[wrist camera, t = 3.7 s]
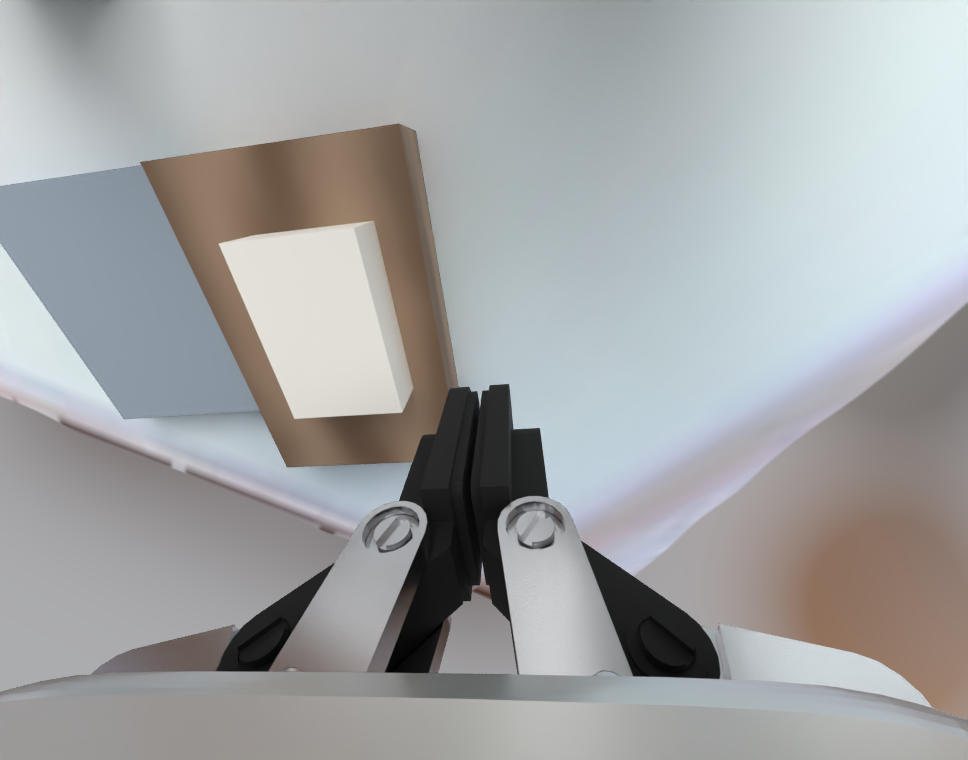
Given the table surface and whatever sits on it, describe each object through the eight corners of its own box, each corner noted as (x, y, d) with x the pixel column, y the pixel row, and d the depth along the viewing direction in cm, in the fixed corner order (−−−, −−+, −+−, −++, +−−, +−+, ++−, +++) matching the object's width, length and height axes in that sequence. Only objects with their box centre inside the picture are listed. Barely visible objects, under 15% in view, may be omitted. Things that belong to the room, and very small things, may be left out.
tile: (374, 220, 17) (353, 227, 15) (413, 388, 21) (402, 412, 19) (254, 235, 18) (218, 243, 16) (315, 394, 22) (294, 418, 20)
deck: (415, 131, 18) (398, 123, 15) (466, 431, 26) (460, 459, 24) (190, 163, 19) (140, 162, 17) (308, 439, 28) (287, 467, 25)
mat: (185, 164, 19) (153, 163, 18) (284, 394, 26) (268, 410, 24) (10, 189, 20) (-36, 191, 19) (148, 403, 27) (123, 419, 25)
